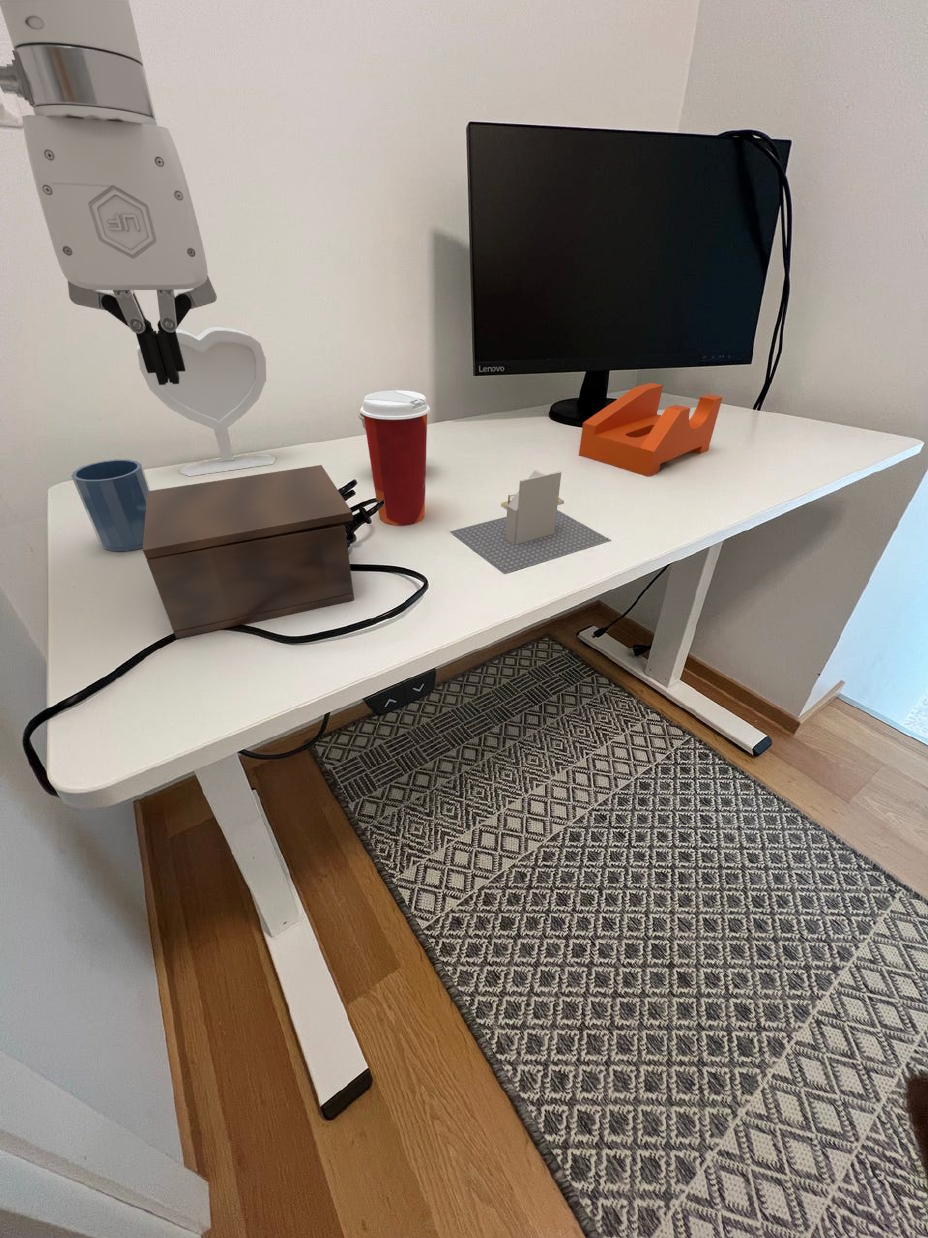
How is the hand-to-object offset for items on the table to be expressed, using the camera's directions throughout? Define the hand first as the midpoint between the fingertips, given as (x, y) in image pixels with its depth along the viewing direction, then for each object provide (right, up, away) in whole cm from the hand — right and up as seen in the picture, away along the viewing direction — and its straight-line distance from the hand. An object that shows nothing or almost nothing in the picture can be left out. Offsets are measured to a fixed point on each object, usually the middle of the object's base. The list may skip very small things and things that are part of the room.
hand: (169, 380), depth 48 cm
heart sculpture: (-9, +2, +33) cm, 35 cm away
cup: (-11, -12, +14) cm, 21 cm away
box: (+6, -18, +6) cm, 20 cm away
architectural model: (+34, -12, +15) cm, 39 cm away
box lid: (+6, -11, +1) cm, 13 cm away
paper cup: (+18, -8, +19) cm, 28 cm away
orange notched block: (+55, +6, +40) cm, 69 cm away
